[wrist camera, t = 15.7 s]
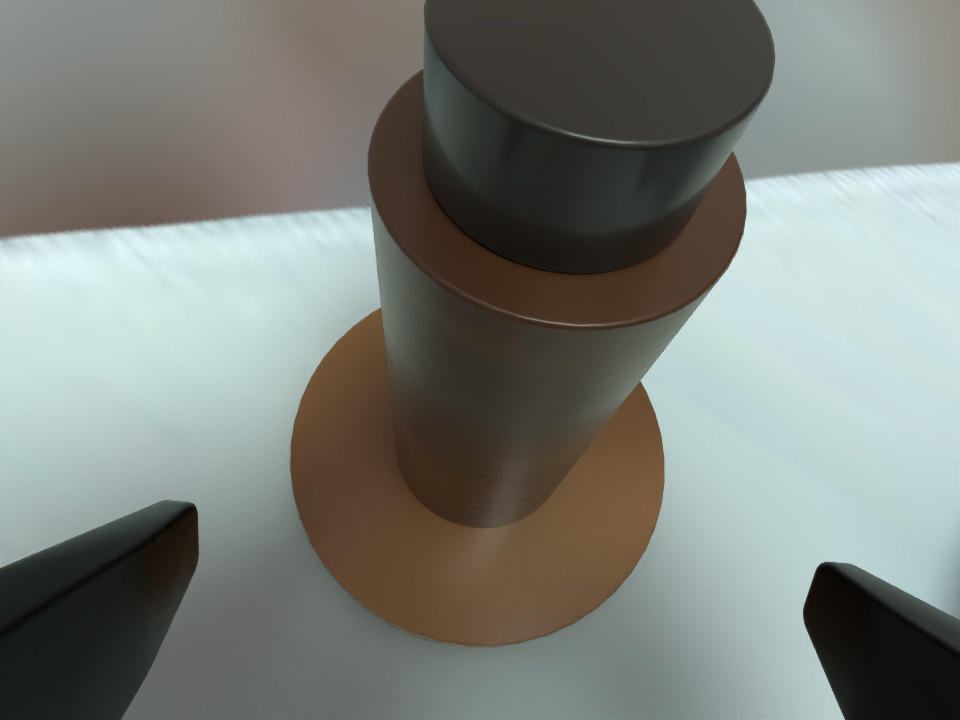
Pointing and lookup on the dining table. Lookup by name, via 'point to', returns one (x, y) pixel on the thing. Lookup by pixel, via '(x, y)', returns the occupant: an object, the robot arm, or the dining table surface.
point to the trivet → (458, 548)
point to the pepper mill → (550, 226)
